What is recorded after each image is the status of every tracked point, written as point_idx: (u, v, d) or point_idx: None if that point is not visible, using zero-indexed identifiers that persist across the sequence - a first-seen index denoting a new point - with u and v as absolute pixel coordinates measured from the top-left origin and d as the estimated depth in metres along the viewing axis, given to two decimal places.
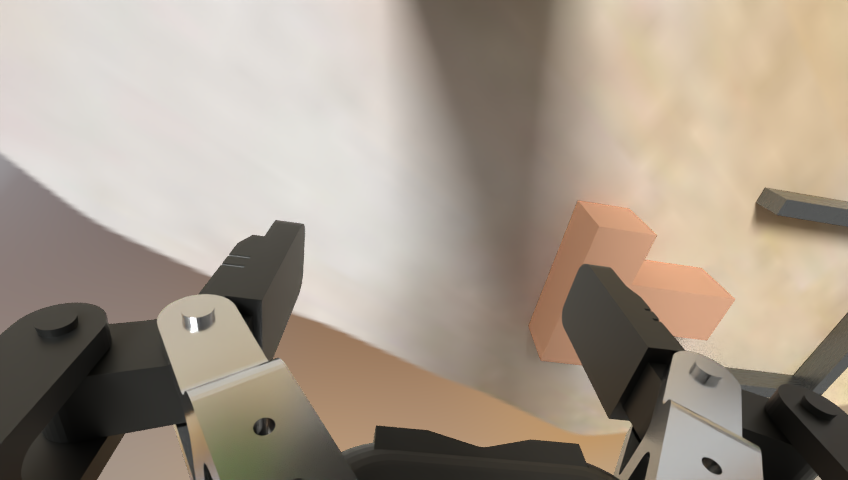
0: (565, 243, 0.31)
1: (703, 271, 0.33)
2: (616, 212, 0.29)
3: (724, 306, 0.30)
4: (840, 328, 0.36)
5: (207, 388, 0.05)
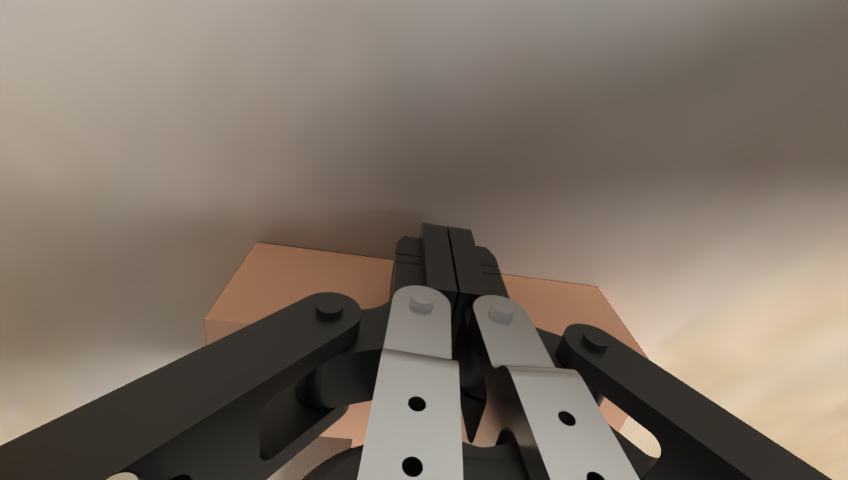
0: (514, 285, 0.14)
1: None
2: None
3: None
4: None
5: (395, 353, 0.06)
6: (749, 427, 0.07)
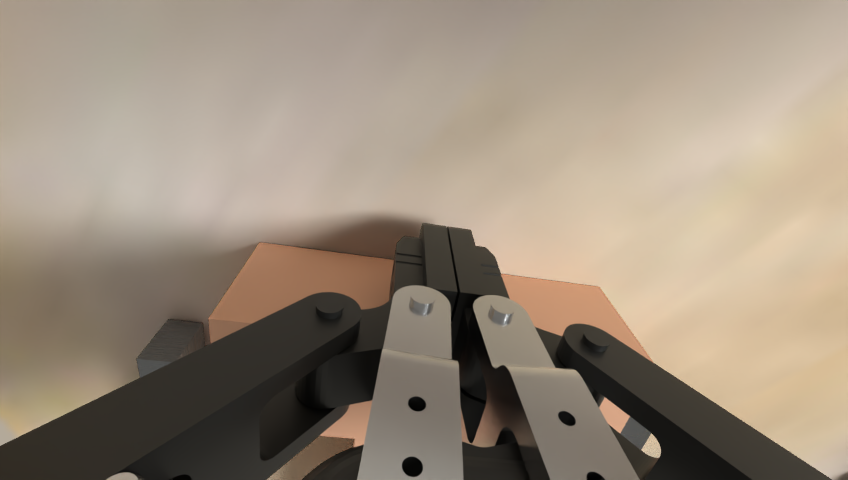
0: (517, 285, 0.14)
1: None
2: None
3: None
4: None
5: (395, 353, 0.06)
6: (749, 427, 0.07)
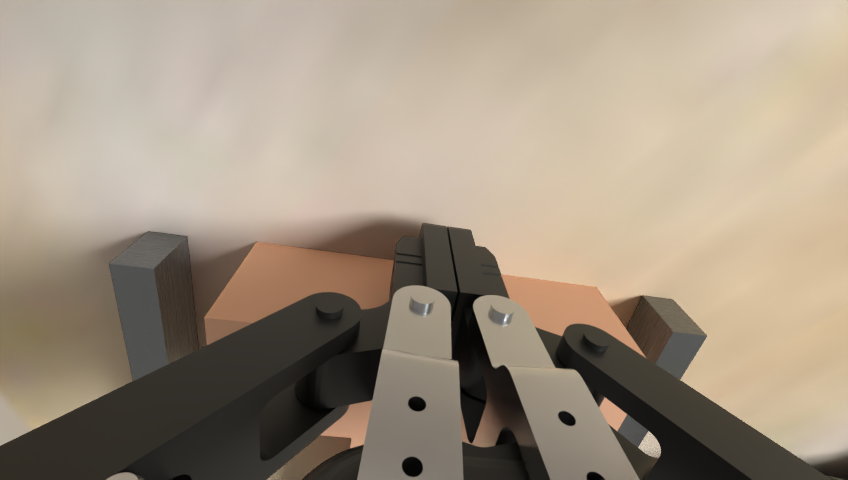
0: (513, 285, 0.14)
1: None
2: None
3: None
4: None
5: (396, 353, 0.06)
6: (749, 427, 0.07)
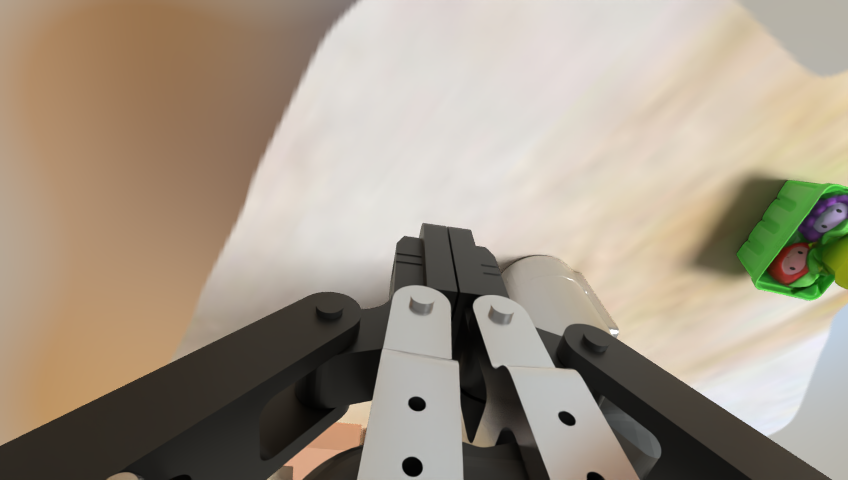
0: (336, 426, 0.56)
1: None
2: None
3: None
4: None
5: (395, 353, 0.06)
6: (749, 427, 0.07)
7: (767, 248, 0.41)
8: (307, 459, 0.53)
